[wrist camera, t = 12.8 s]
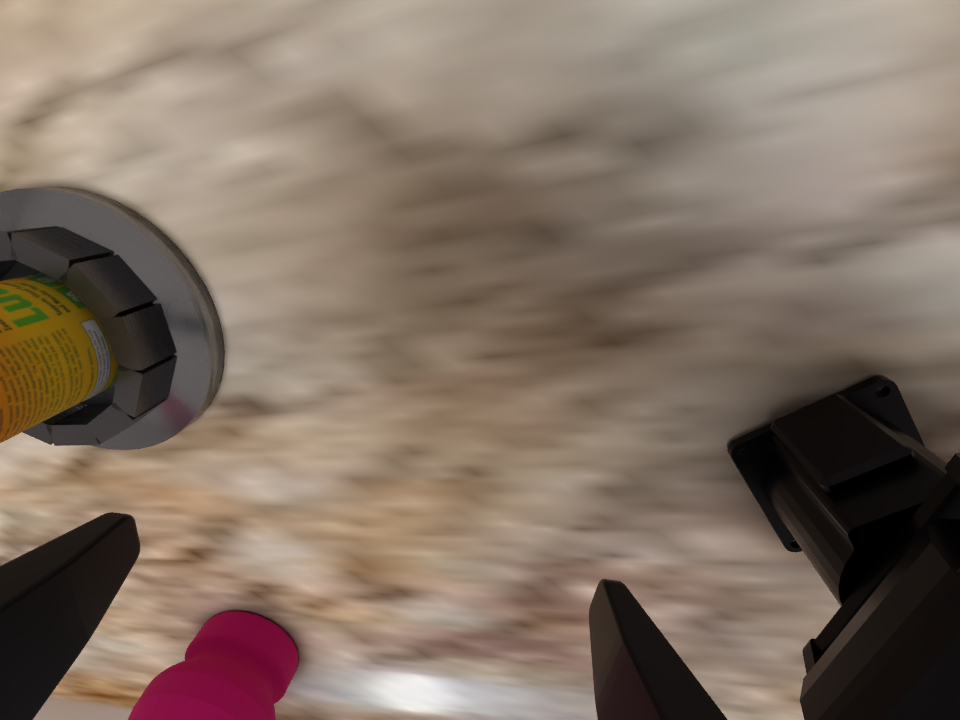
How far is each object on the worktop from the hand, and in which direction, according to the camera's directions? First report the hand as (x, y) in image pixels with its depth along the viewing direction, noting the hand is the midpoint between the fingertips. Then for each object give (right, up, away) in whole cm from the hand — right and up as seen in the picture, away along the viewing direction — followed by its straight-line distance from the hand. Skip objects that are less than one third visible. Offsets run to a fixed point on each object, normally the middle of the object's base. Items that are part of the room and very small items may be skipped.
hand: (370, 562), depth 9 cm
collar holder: (-15, +6, +13) cm, 21 cm away
